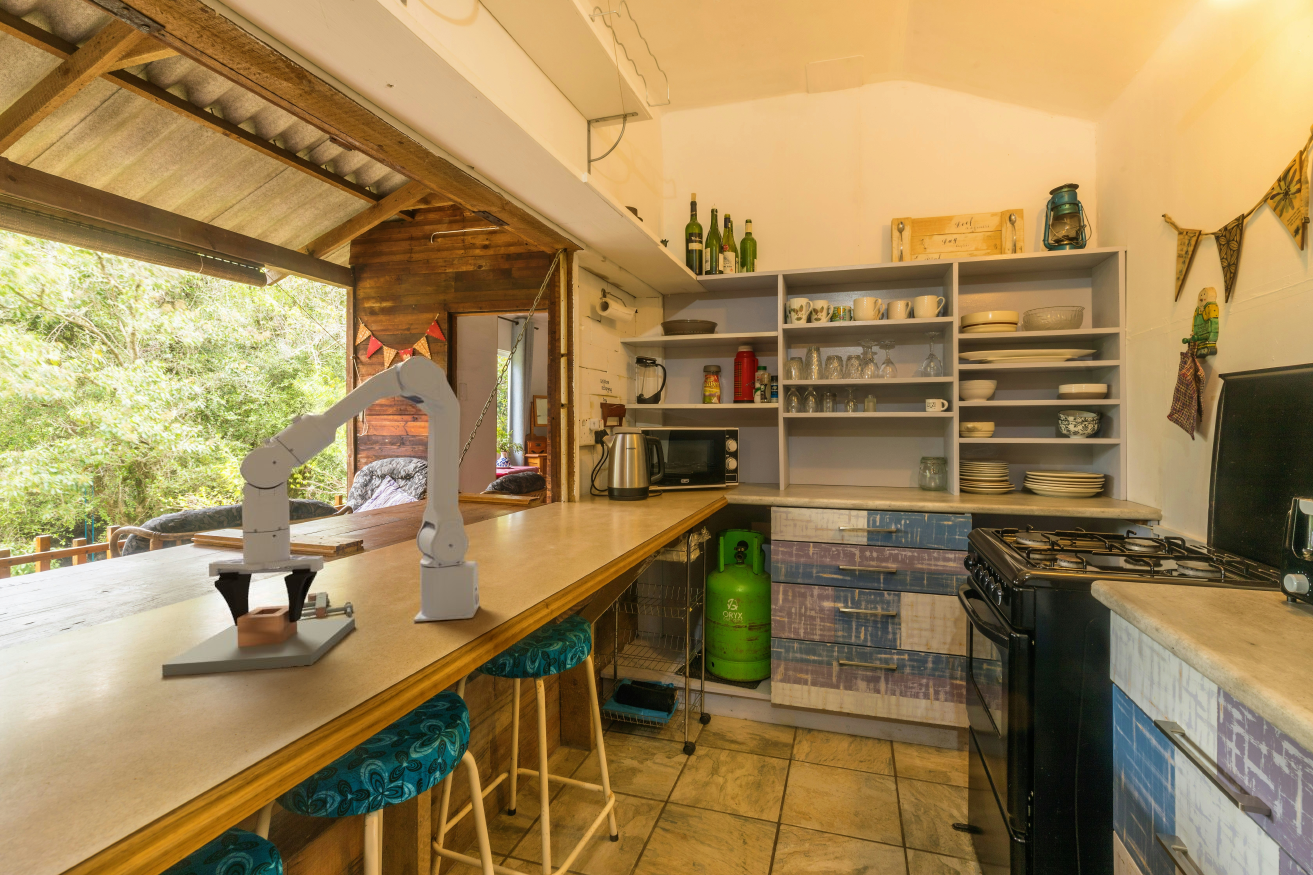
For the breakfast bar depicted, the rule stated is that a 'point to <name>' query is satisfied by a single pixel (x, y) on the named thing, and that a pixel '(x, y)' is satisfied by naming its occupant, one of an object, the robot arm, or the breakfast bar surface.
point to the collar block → (265, 626)
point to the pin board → (260, 649)
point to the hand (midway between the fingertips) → (268, 622)
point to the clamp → (324, 606)
